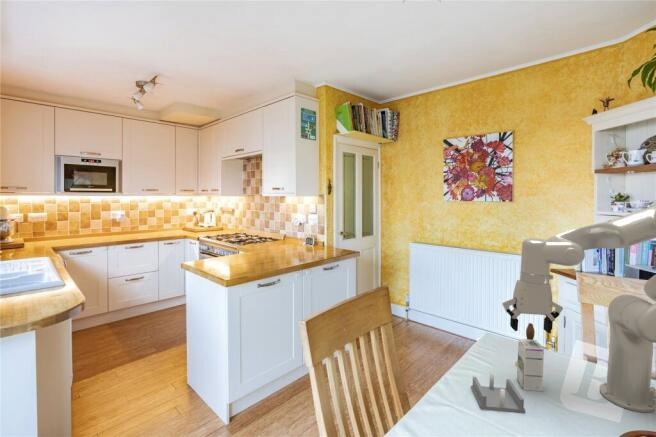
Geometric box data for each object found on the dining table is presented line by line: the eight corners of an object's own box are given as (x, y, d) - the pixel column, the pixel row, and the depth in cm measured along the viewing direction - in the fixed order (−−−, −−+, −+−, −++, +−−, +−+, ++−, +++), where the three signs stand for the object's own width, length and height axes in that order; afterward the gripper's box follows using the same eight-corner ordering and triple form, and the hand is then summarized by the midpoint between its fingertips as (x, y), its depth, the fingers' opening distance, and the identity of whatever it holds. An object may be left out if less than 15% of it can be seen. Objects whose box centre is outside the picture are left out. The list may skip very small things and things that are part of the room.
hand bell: (510, 360, 120) (512, 319, 119) (533, 361, 120) (535, 319, 118) (523, 373, 112) (525, 328, 110) (547, 373, 111) (550, 329, 110)
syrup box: (543, 392, 101) (545, 347, 100) (522, 390, 102) (524, 346, 101) (535, 381, 107) (537, 339, 106) (515, 379, 108) (517, 338, 107)
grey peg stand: (510, 391, 102) (511, 373, 101) (525, 413, 92) (526, 393, 91) (470, 388, 104) (471, 370, 103) (480, 409, 94) (481, 389, 93)
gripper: (557, 276, 104) (553, 327, 106) (500, 273, 107) (497, 323, 108) (571, 282, 97) (567, 337, 98) (509, 280, 99) (506, 333, 101)
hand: (530, 330), depth 103 cm, fingers open, 9 cm apart
